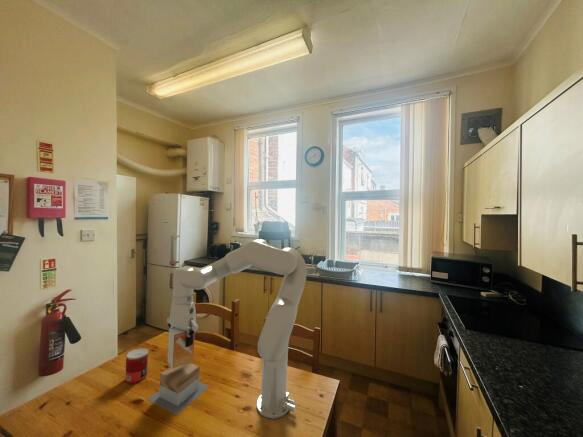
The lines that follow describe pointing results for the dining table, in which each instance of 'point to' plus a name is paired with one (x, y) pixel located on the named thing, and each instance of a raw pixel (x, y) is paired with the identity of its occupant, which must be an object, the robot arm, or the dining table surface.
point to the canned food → (136, 365)
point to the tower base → (180, 397)
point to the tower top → (179, 377)
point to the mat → (177, 409)
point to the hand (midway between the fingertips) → (181, 342)
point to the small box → (179, 348)
